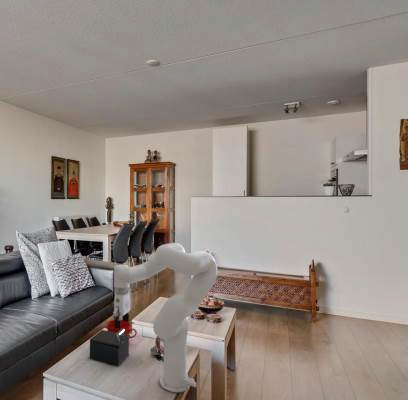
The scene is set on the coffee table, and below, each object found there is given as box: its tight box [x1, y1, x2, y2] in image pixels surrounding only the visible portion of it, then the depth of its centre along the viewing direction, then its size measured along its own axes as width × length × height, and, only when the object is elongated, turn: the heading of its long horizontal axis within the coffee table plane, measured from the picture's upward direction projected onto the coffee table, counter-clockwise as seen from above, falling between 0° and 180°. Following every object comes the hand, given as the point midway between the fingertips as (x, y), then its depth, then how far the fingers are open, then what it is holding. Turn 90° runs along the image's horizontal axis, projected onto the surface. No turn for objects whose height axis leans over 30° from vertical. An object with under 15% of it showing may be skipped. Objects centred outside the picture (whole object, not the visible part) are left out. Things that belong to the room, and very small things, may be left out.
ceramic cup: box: [106, 319, 138, 339], centre depth 171 cm, size 13×17×10 cm
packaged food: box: [149, 345, 164, 359], centre depth 158 cm, size 9×12×5 cm
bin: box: [89, 338, 130, 368], centre depth 155 cm, size 16×13×9 cm
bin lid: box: [89, 329, 131, 347], centre depth 155 cm, size 16×13×5 cm
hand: (121, 324), depth 154 cm, fingers open, 9 cm apart
